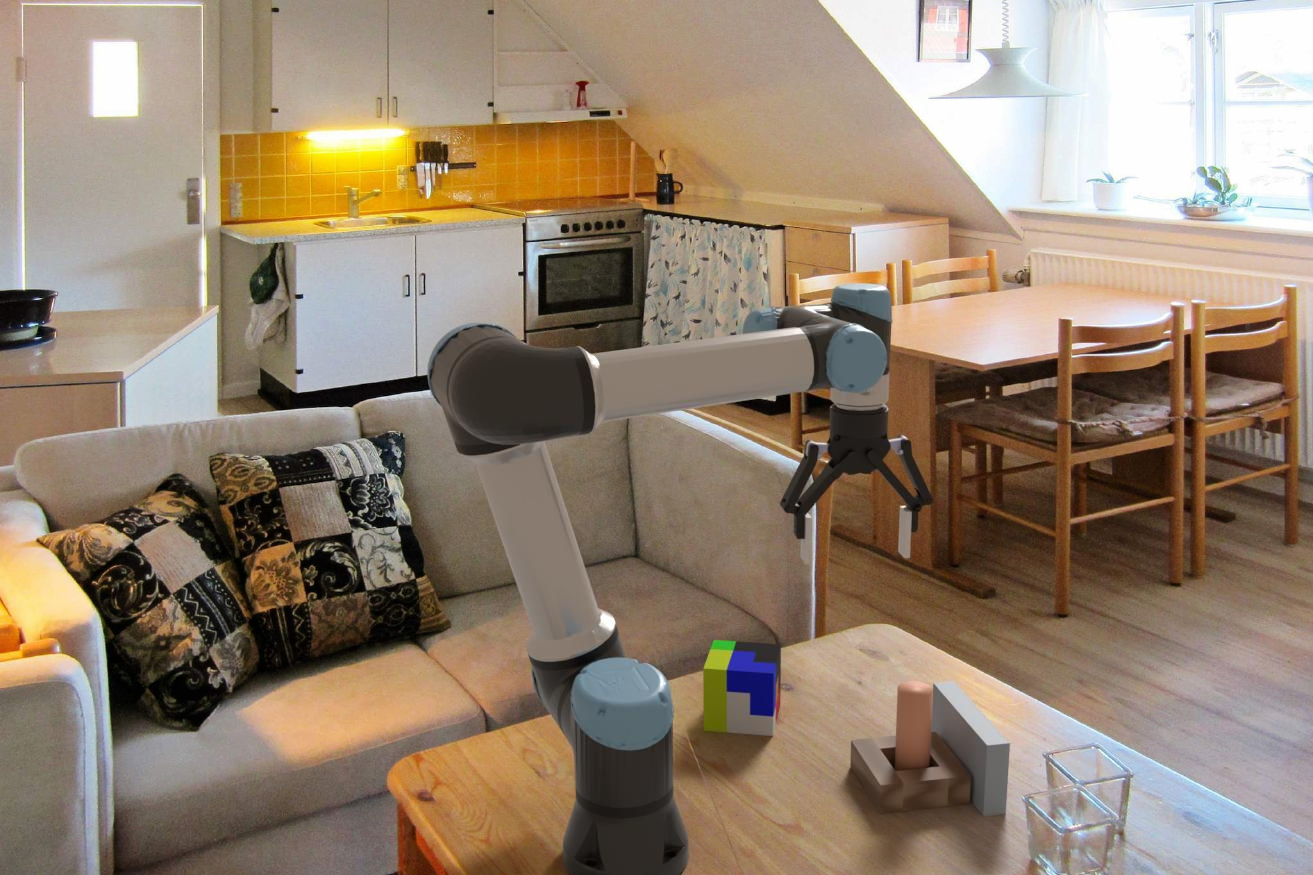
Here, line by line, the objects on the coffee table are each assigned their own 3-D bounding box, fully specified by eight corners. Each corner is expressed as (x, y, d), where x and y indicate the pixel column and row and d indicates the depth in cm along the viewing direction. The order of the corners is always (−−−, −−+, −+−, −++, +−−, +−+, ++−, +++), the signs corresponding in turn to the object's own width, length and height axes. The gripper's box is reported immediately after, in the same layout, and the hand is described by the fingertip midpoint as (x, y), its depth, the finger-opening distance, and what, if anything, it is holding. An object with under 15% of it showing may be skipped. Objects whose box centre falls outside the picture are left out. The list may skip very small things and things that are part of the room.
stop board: (983, 817, 162) (987, 745, 160) (930, 748, 179) (933, 682, 177) (1005, 814, 163) (1010, 743, 160) (950, 746, 180) (953, 680, 177)
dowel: (901, 796, 167) (904, 698, 164) (889, 779, 172) (892, 682, 168) (934, 792, 168) (938, 694, 164) (921, 775, 172) (925, 679, 169)
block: (879, 813, 163) (880, 785, 162) (850, 766, 175) (851, 740, 174) (969, 803, 165) (971, 775, 164) (934, 758, 176) (935, 731, 175)
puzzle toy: (773, 737, 183) (773, 673, 181) (703, 732, 185) (703, 668, 183) (780, 706, 193) (781, 644, 190) (714, 701, 195) (714, 639, 192)
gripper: (771, 415, 162) (770, 573, 168) (961, 406, 165) (954, 561, 171) (759, 401, 169) (758, 553, 175) (941, 393, 173) (934, 543, 178)
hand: (855, 558), depth 173 cm, fingers open, 13 cm apart
